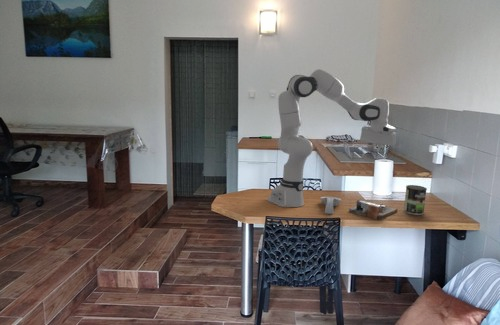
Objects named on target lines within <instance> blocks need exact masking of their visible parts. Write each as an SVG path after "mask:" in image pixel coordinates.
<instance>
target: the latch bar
mask: <svg viewBox="0 0 500 325" xmlns="http://www.w3.org/2000/svg"><path fill="white" fill-rule="evenodd" d="M369 202H370V201H365V200H361V199H358V200H356V206H355V207H359V208H364V209H367V210H368V206H369V205H370V204H372V203H373V202H371V203H369ZM376 204H377V203H375V204H372V205H376ZM376 206H380V205H376ZM386 206H387V205H384V204H383V205H381V206H380V210H379V213H382V214H384V213H386Z"/></svg>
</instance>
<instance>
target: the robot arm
mask: <svg viewBox="0 0 500 325" xmlns="http://www.w3.org/2000/svg"><path fill="white" fill-rule="evenodd" d="M315 91H316V92H318V93H320V94H321V95H322V96H323V97H325V98H327V99H329V100H331V101H332V102H335V103H337V104H338V105H339V106H340V107H342V108H343V109H344V110H346V111H347V113H348V114H349V117H351V118H350V119H353V120H354V121H362V122H369V121H370V125H369V126H367V125H363V126H362V128H361V132H360V138H359V141H360V142H361V143H369V144H371V146H372V149H373V152H375V153H380V151H381V148H382V147H383V146H389V147H392V146H393V147H394V146H395V145H396V144H397V133H396V131H397V128H396V127H395V126H392V125H390V124H389V123H388V117H389V115H390V114H389V113H390V104H389V100H388V99H386V98H383V97H375V98H374V99H372V100H370V101H368V102H365V103H364V102H357V101H354V100H352V99H351V98H350V97H349V96H348V95H347V94H345V92H344V91H345V86H344V84H343V83H342V82H341V81H340V80H339V79H338V78H336V77H335V76H333V74H330V73H328V72H327V71H326V70H323V69H320V68H319V69H316V70H314V71H313V72H312V73H311V74H310V75H309V76H307V75H303V74H295V75H293V76H292V77H291V78H290V79H289V81H288V84H287V87H286V90H285V91H282V92H280V93H279V95H278V99H277V100H278V102H277V104H278V105H277V107H278V114H279V119H280V128H281V129H280V137H279V138H278V139H277V147H278V149H279V150H280V151H282V153H284V154H287V155H288V158H287V162H286V163H285V164H284V165H283V174H282V176H283V177H282V178H281V179H279V182H280V184H279V185H277V186H276V187H274V188H273V189H272V190H271V193H270V196H268V197H266V201H267V202H270V203H272V204H274V205H276V206H279V207H283V208H285V207H287V208H288V207H289V208H299V207H302V206H303V207H304V205H305V201H304V195H303V188H304V167H305V164H306V160H307V158H308V157H310V155H311V154H312V153H313V150H314V146H313V143H312V141H311V140H309V139H308V138H306V137H302V136H299V130H300V127H301V126H302V119H301V118H302V117H301V112H300V106H299V103H300V99H301V98H307V97H310V96H311V95H312V94H313V93H315ZM377 146H378V147H377Z"/></svg>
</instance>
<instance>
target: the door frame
mask: <svg viewBox="0 0 500 325" xmlns="http://www.w3.org/2000/svg"><path fill="white" fill-rule="evenodd" d="M368 202H369V203H372V204H376V205H380V206H381V205H384V204H383V203H379V204H378V203H374V202H372V201H371V202H370V201H368ZM372 204H370V205H369V206H368V210H367V209H364V208H359V207H356V206H354V207H351V208H349V209H348V212H349V213H353V214H355V215H360V216H363V217H366V218H370V219H373V220H378V221H379V220H381V219H382V220H383V219H384V218H386V217H389V216H391V215H393V214H395V213H397V212H398V208H394V207H391V206H387V205H385V206H386V213H384V214H382V213H379V210H380V206H376V205H372ZM392 213H393V214H392ZM390 214H391V215H390ZM388 215H389V216H388Z"/></svg>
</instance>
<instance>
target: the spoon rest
mask: <svg viewBox="0 0 500 325" xmlns="http://www.w3.org/2000/svg"><path fill="white" fill-rule="evenodd" d="M319 198H320V201H321V203H322V204H323V205H324V206H325V209H324V214H326V215H334V210H335V209H334V207H336V206H338V205H340V203H341V202H342V199H341V198H339V197H335V196H321V197H319Z"/></svg>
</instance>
